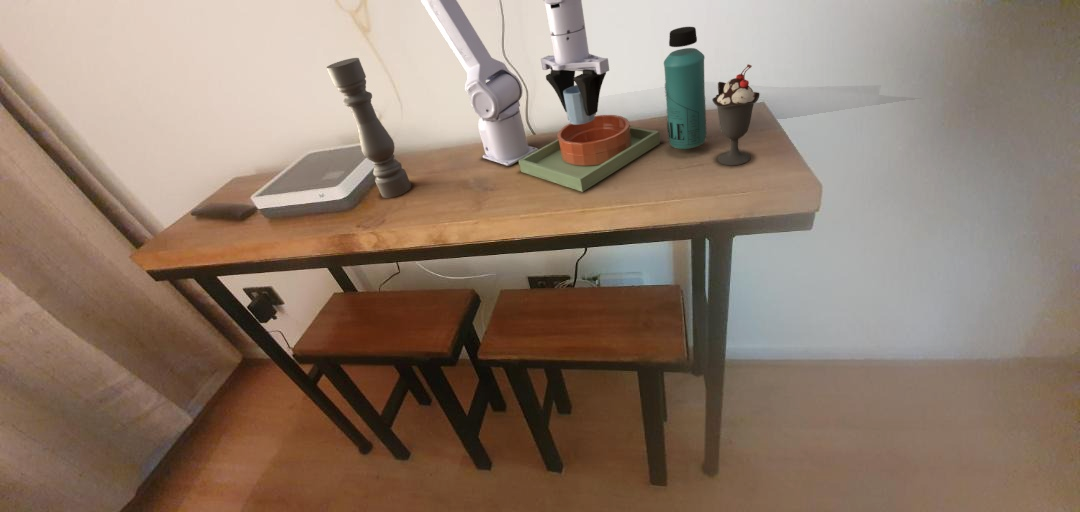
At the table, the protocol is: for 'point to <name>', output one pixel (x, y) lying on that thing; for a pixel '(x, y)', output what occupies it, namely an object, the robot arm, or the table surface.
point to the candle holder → (369, 127)
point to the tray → (583, 177)
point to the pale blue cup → (576, 106)
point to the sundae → (735, 115)
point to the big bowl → (594, 140)
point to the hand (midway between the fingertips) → (581, 111)
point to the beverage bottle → (685, 91)
